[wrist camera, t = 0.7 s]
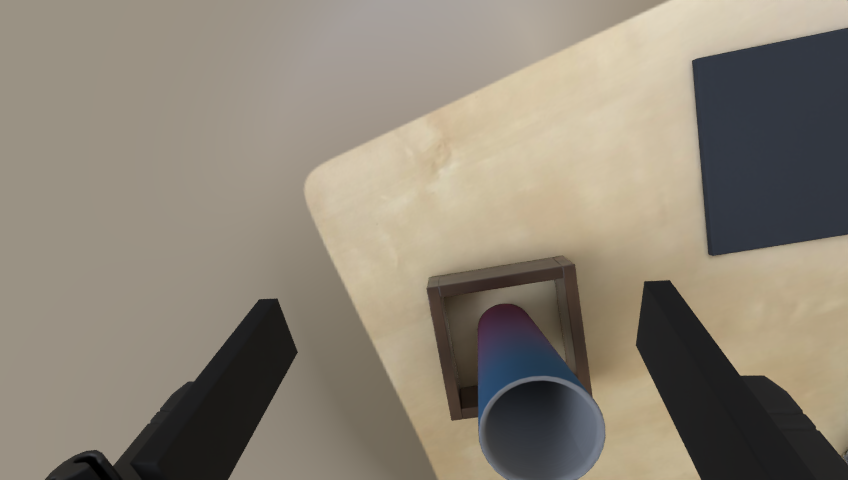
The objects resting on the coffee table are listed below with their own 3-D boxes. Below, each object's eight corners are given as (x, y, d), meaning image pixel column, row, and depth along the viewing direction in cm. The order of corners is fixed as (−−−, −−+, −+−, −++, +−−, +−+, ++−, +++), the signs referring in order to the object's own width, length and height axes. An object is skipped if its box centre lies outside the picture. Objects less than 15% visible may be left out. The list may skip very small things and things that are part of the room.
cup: (453, 338, 37) (454, 445, 22) (496, 279, 36) (527, 351, 21) (513, 378, 37) (554, 511, 23) (558, 321, 36) (632, 422, 21)
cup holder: (428, 277, 36) (426, 288, 33) (563, 255, 35) (575, 264, 32) (451, 398, 38) (451, 421, 35) (580, 381, 37) (593, 402, 34)
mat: (692, 60, 32) (696, 58, 31) (854, 27, 31) (862, 24, 30) (708, 254, 34) (712, 256, 34) (860, 230, 33) (867, 231, 33)
